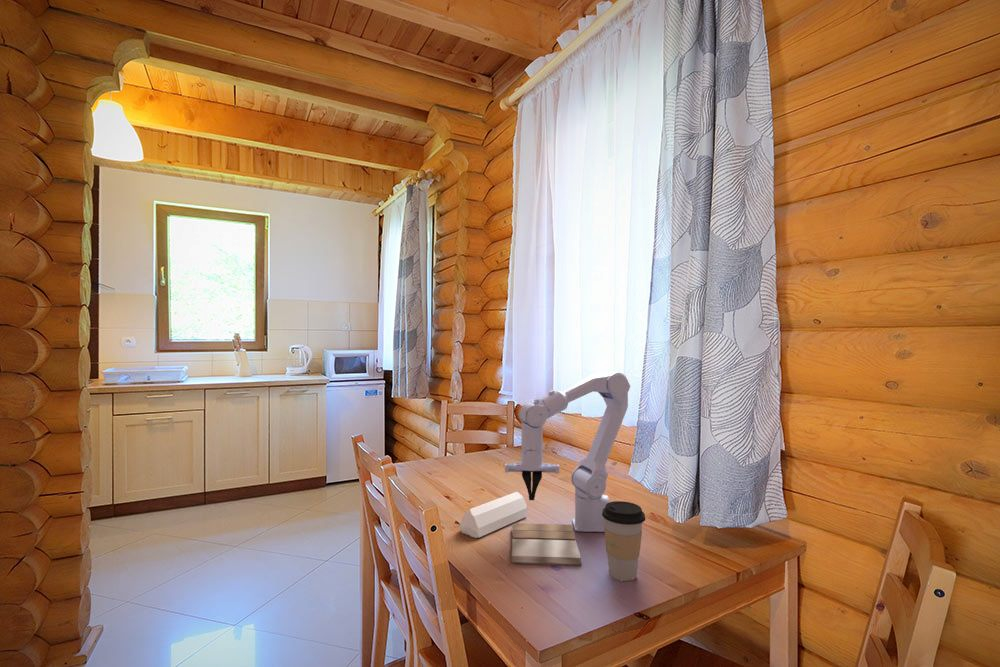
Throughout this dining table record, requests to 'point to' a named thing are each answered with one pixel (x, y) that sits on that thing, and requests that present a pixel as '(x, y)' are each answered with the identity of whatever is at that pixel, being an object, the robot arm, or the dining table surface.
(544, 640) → the dining table surface
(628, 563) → the coffee cup
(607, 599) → the dining table surface
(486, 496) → the dining table surface
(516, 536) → the walnut boards
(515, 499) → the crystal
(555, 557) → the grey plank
